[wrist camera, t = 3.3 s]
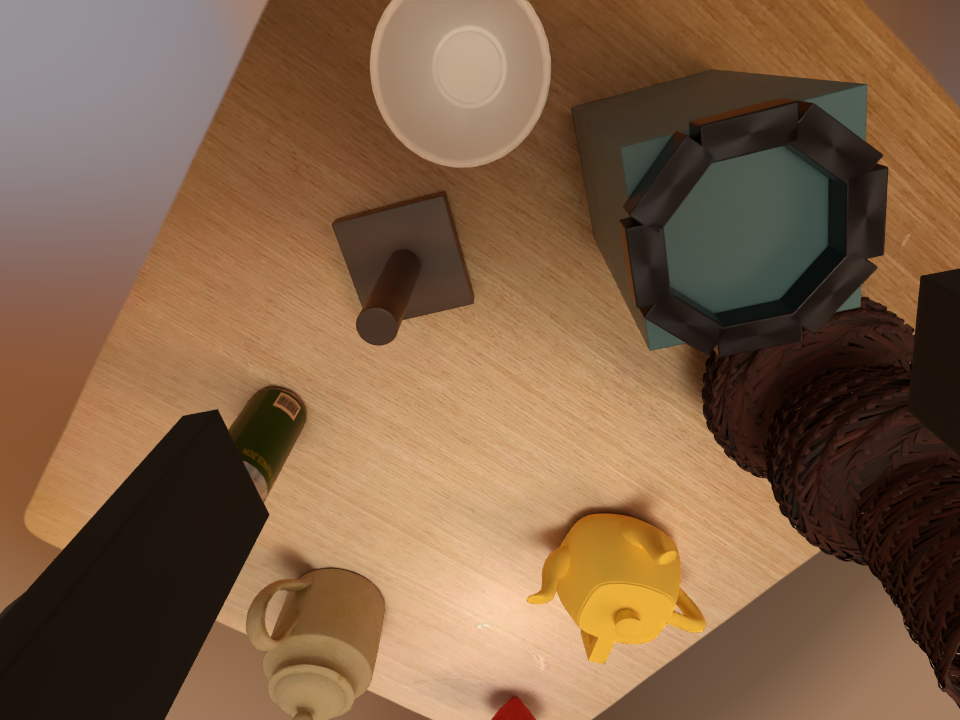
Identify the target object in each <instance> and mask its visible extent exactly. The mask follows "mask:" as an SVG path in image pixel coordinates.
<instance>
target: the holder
mask: <svg viewBox="0 0 960 720" xmlns="http://www.w3.org/2000/svg"><path fill="white" fill-rule="evenodd" d="M332 226H333V229H334V232H335V235H336V237H337V240H338V243H339V245H340V248H341V251H342V254H343V256H344V259H345V262H346V264H347V267H348V270H349V272H350V275H351V278H352V281H353V283H354V286H355V289H356V291H357V294H358V297H359V300H360V302H361V305H362V310H361V312H360V314H359V316H358V318H357V321H356V328H357V331H358V333H359V335H360V336H361V338H362V339H363V340H365V341H366V342H368V343H370V344H372V345H385V344H388V343H390V342H391V341H393V340H394V338H395V337H396V335H397V333H398V330H399V327H400V325H401V322H402V320H405V319H409V318H413V317H418V316H422V315H427V314H431V313H435V312H440V311H444V310H448V309H453V308H457V307H462V306H466V305H470V304H474V294H473V290H472V287H471V283H470V280H469V276H468V272H467V269H466V265H465V262H464V258H463V254H462V251H461V247H460V244H459V240H458V236H457V233H456V229H455V226H454V222H453V218H452V215H451V211H450V208H449V204H448V200H447V197H446V193H445V192H440V193H437V194H433V195H429V196H425V197H421V198H417V199H413V200H409V201H405V202H401V203H398V204H394V205H390V206H386V207H382V208H378V209H374V210H370V211H366V212H363V213H359V214H355V215H351V216H347V217H343V218H339V219H336V220H335V221H334V222H333V223H332Z"/></svg>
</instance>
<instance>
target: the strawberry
mask: <svg viewBox="0 0 960 720" xmlns="http://www.w3.org/2000/svg"><path fill="white" fill-rule="evenodd" d="M492 720H536V719H535V718H534V716H533V715H532V713H531V712H530V711H529V710H528V709H527V707H526V706H525V705H524V704H523V702H522V701H521V700H520V699H519V698H517V697H512V698H510V699H509V700H508V702H507V703H506V704H505V705H503V706H502V707H501V708H500V709H499V710H498V712H497V713H496V714H495V716H494V717H493V718H492Z"/></svg>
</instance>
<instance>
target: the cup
mask: <svg viewBox="0 0 960 720" xmlns="http://www.w3.org/2000/svg"><path fill="white" fill-rule="evenodd" d="M370 75H371V85H372V89H373V93H374V97H375V100H376V104H377V106H378V108H379V110H380V112H381V115H382V117H383V119H384V121H385V122H386V124H387V125H388V127H389V128H390V129H391V131H392V132H393V134H394V135H395V136H396V137H397V138H398V139H399V140H400V141H401V142H402V143H403V144H404V145H405V146H406V147H407V148H408V149H410V150H411V151H413V152H414V153H416V154H417V155H419V156H420V157H422V158H424V159H426V160H429V161H431V162H434V163H436V164H439V165H444V166H449V167H454V168H463V167H475V166H480V165H484V164H488V163H491V162H493V161H495V160H497V159H499V158H502V157H504V156H505V155H507V154H508V153H509V152H511V151H512V150H513V149H515V148H516V147H518V146H519V144H520V143H521V142H522V141H523V140H524V139H525V138H526V137H527V136H528V135H529V134H530V132H531V131H532V129H533V128H534V126H535V125H536V123H537V121H538V120H539V118H540V116H541V113H542V111H543V108H544V106H545V104H546V101H547V97H548V92H549V87H550V82H551V57H550V51H549V44H548V40H547V37H546V34H545V31H544V28H543V25H542V23H541V21H540V19H539V17H538V16H537V14H536V12H535V10H534V9H533V7H532V5H531V4H530V3H529V2H528V1H527V0H392V1H391V2H390V4H389V5H388V6H387V8H386V9H385V11H384V13H383V15H382V17H381V19H380V21H379V23H378V25H377V27H376V31H375V34H374V38H373V42H372V46H371V56H370Z"/></svg>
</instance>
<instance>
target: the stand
mask: <svg viewBox="0 0 960 720" xmlns="http://www.w3.org/2000/svg"><path fill="white" fill-rule="evenodd" d="M779 98H785V99H791V100H800V101H806V102H812V103H815V104H816V105H817V106H819V107H820V108H821V109H823V110H824V111H825V112H827V113H828V114H829V115H831V116H832V117H833V118H835V119H836V120H837V121H839V122H840V123H841V124H843V125H844V126H845V127H847V128H848V129H849V130H851V131H852V132H853V133H855V134H856V135H857V136H859V137H860V138H861V139H863V140H864V141H865V142H866V113H867V84H860V83H849V82H838V81H828V80H817V79H807V78H796V77H785V76H775V75H764V74H754V73H743V72H733V71H722V70H709V71H705V72H702V73H698V74H694V75H690V76H687V77H683V78H679V79H676V80H672V81H668V82H664V83H661V84H657V85H653V86H650V87H646V88H642V89H638V90H635V91H631V92H627V93H624V94H620V95H616V96H612V97H609V98H605V99H601V100H598V101H594V102H590V103H586V104H583V105H579V106H575V107H572V113H573V119H574V125H575V130H576V136H577V142H578V148H579V153H580V159H581V165H582V171H583V176H584V182H585V188H586V194H587V200H588V205H589V211H590V217H591V223H592V228H593V234H594V239H595V241H596V243H597V245H598V247H599V249H600V251H601V253H602V255H603V257H604V259H605V261H606V263H607V265H608V267H609V269H610V271H611V274H612V276H613V278H614V280H615V282H616V284H617V286H618V288H619V290H620V292H621V294H622V296H623V298H624V300H625V302H626V304H627V306H628V308H629V310H630V312H631V314H632V316H633V318H634V320H635V322H636V324H637V326H638V328H639V330H640V332H641V334H642V336H643V338H644V340H645V342H646V344H647V346H648V348H649V350H650V351H651V350H656V349H661V348H666V347H670V346H675V345H680V344H685V342H683V341H681V340H680V339H678V338H676V337H675V336H673V335H671V334H670V333H668V332H666V331H665V330H663V329H661V328H660V327H658V326H656V325H655V324H653V323H651V322H650V321H648V320H646V319H645V318H644V317H643V315H642V314H641V312H640V310H639V308H637V307H636V306H635V304H634V302H633V300H632V298H631V296H630V291H629V284H628V278H627V271H626V264H625V258H624V251H623V244H622V238H621V231H620V224H619V220H620V219H624V218H628V217H629V216H628V214H627V213H626V212H625V210H624V209H623V208H622V207H623V205H624V204H625V202H626V201H627V200H628V198H629V197H630V195H631V194H632V193H633V191H634V190H635V188H636V187H637V185H638V184H639V183H640V181H641V180H642V178H643V177H644V176H645V174H646V173H647V171H648V170H649V168H650V167H651V166H652V164H653V163H654V161H655V160H656V159H657V157H658V156H659V154H660V153H661V151H662V150H663V149H664V147H665V146H666V144H667V143H668V142H669V140H670V139H671V137H672V136H673V134H674V133H675V132H676V131H680V132H682V133H684V134H687V135H688V136H690V130H689V122H690V121H693V120H697V119H701V118H704V117H708V116H712V115H716V114H720V113H724V112H728V111H732V110H736V109H740V108H744V107H747V106H751V105H755V104H759V103H763V102H767V101H771V100H775V99H779ZM828 230H829V178H828V177H826V176H825V175H823V174H822V173H821V172H819V171H818V170H817V169H815V168H814V167H812V166H811V165H810V164H808V163H807V162H805V161H804V160H803V159H801V158H800V157H798V156H797V155H796V154H794V153H793V152H791V151H790V150H789V149H787V148H786V147H785V146H782V147H777V148H773V149H769V150H765V151H761V152H757V153H753V154H749V155H745V156H741V157H737V158H733V159H729V160H724V161H720V162H716V163H712V164H711V165H710V167H709V168H708V169H707V170H706V172H705V173H704V174H703V176H702V177H701V178H700V180H699V181H698V182H697V184H696V185H695V186H694V188H693V189H692V190H691V192H690V193H689V194H688V196H687V197H686V198H685V200H684V201H683V202H682V204H681V205H680V206H679V208H678V209H677V210H676V212H675V213H674V214H673V216H672V217H671V218H670V220H669V221H668V222H667V224H666V225H665V226H664V236H665V245H666V253H667V262H668V270H669V279H670V287H672V288H673V289H675V290H677V291H678V292H680V293H681V294H683V295H685V296H686V297H688V298H690V299H691V300H693V301H694V302H696V303H698V304H699V305H701V306H702V307H704V308H706V309H707V310H709V311H710V312H712V313H714V314H715V313H720V312H725V311H729V310H734V309H739V308H744V307H748V306H753V305H758V304H763V303H767V302H772V301H777V300H780V299H781V298H782V297H783V296H784V295H785V293H786V292H787V291H788V290H789V289H790V288H791V287H792V286H793V285H794V283H795V282H796V281H797V280H798V279H799V278H800V277H801V276H802V274H803V273H804V272H805V271H806V270H807V269H808V268H809V267H810V266H811V264H812V263H813V262H814V261H815V260H816V259H817V258H818V257H819V255H820V254H821V253H822V252H823V251H824V250H825V249H826V248H827V247H828ZM860 306H861V286H860V287H859V288H858V289H857V290H856V291H855V292H854V293H853V294H852V295H851V296H850V297H849V299H848V300H847V301H846V302H845V303H844V304H843V305H842V306H841V307H840V308H839V309H838V310H837V311H836V312H839V311H843V310H848V309H853V308H858V307H860Z"/></svg>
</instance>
